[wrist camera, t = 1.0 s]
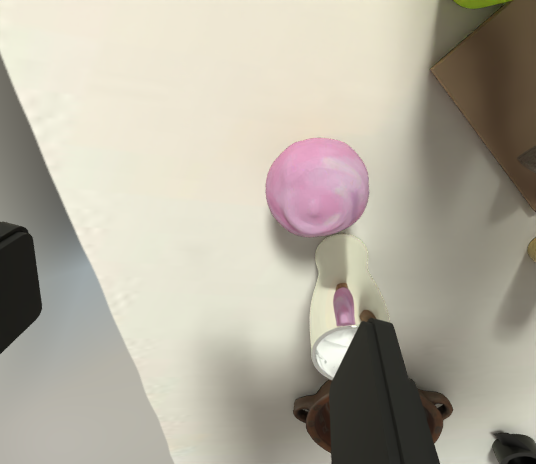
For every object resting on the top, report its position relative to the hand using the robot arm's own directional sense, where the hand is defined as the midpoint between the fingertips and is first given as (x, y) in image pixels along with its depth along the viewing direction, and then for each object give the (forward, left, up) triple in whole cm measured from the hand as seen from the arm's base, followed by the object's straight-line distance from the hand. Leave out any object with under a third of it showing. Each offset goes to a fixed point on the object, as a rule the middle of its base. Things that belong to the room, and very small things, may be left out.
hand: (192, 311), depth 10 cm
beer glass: (+5, +16, -28) cm, 32 cm away
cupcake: (0, +6, -28) cm, 28 cm away
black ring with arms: (+7, +59, -28) cm, 66 cm away
